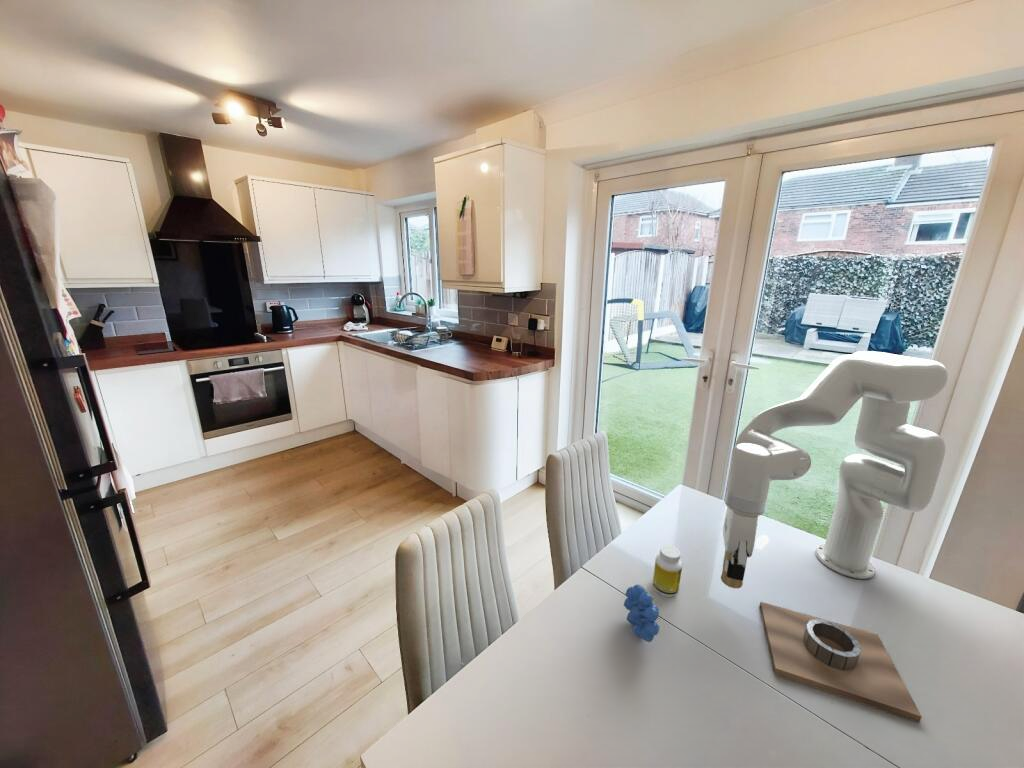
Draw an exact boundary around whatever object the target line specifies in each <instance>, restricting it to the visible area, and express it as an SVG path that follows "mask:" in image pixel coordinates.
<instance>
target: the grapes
mask: <svg viewBox="0 0 1024 768" xmlns="http://www.w3.org/2000/svg"><path fill="white" fill-rule="evenodd" d="M624 594H625V596H626V598H625V600H624V602H623V606H624V607H625V608H626V609H627V610H628V611H629V612H628V613H627V615H626V621H627V622H628V623H629V624H630V625H633V629H632V632H633V634H634V635H636V636H637V638H640V639H642V640H643V641H645V642H646V643H650V642H651V643H652V641H653V640H654V637H655V636H657V635H658V634H659V631H660V625H659V624H658V623H657V622H656V621H657V620H658V618H659V615H660V610H659V609H660V608H659V607H658V606H657V605H656V604H654V603H653V601H654V597H653V596H652V595H651V594H650V593H649V592H647V591H646V589H645V588H644V587H643V586H642V585H640V584H634V585H633V586H630V587H629V586H628V588H627V589H626V591H625V593H624Z"/></svg>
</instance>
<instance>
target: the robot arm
mask: <svg viewBox="0 0 1024 768" xmlns="http://www.w3.org/2000/svg"><path fill="white" fill-rule="evenodd" d="M947 382H948V371H947V368H946V367H945V365H944V364H942V363H941V362H938V361H937V360H931V359H926V358H920V357H919V358H918V357H913V356H912V357H911V356H905V355H899V354H894V353H889V352H882V351H872V350H871V351H869V350H867V351H866V350H862V351H856V352H854V353H852V354H844V355H840V356H838V357H837V358H835V359H834V360H833V361H832V362H831V363H830V364H829V365H828V366H827V367H826V368H825V369H824V371H823V372H822V373H820V375H819V376H818V377H817V379H815V380H814V381H813V383H812V384H811V385H810V386H809V387H808V388H807V389H806V390H805V391H804V392H803V394H802V395H801V396H800V397H798V398H795V399H792V400H788V401H786V402H782V403H780V404H777V405H775V406H772V407H769V408H767V409H765V410H763V411H761V412H759V414H757V415H756V416H755V417H754V418H752V420H751V421H750V422H749V423H748V424H747V425H746V426H745V427H744V428H743V429H742V431H741V432H740V433H739V435H738V436H737V438H736V441H735V444H734V447H733V449H732V452H731V456H730V464H729V471H728V478H727V485H726V491H725V498H724V504H725V506H726V507H727V508H726V512H725V516H724V520H723V526H722V535H723V536H722V537H723V544H724V549H725V550H726V551H727V552H728V553H731V561H729V563H728V569H727V577H729V578H732V579H736V580H740V581H744V578H745V572H746V568H747V567H746V566H747V562H746V557H747V559H748V558H751V557H752V556H753V552H754V547H755V541H756V535H757V528H758V519H759V517H760V516H762V515H764V514H765V511H766V505H767V501H768V494H769V489H770V485H771V481H772V482H773V481H792V480H793V481H794V480H797V479H799V478H801V477H803V476H804V475H806V474H807V473H808V472H809V470H810V469H811V466H812V460H811V456H810V454H809V453H808V452H807V451H806V450H805V449H804V448H802V447H800V446H798V445H795V444H794V443H790V442H788V441H785V440H783V439H780V438H778V437H775V436H773V434H774V433H776V432H778V431H780V430H783V429H787V428H793V427H817V426H831V425H835V424H838V423H839V422H840V421H842V419H843V418H844V417H845V416H846V415H847V413H848V412H849V411H850V410H851V409H852V408H853V406H855V405H856V404H857V402H858V401H859V400H860V399H862V401H861V407H860V412H859V417H858V420H857V424H856V430H855V435H854V443H855V446H856V447H857V448H858V449H859V450H861V451H863V452H865V453H867V454H869V455H870V456H869V455H867V454H860V453H855V454H850V455H848V456H846V457H844V459H843V460H842V461H841V463H840V466H839V471H838V491H837V496H836V499H835V500H836V501H835V504H834V507H833V513H832V517H831V520H830V524H829V526H828V527H829V528H828V532H827V536H826V540H825V544H820V545H818V546H817V547H816V549H815V555H816V557H817V559H818V560H819V561H820V562H821V563H822V564H823V565H825V566H826V567H827V568H829V569H830V570H833V571H834V572H837V573H839V574H841V575H843V576H846V577H850V578H853V579H860V580H861V579H862V580H863V579H864V580H867V579H871V578H872V577H874V575H875V573H876V568H875V567H874V565H873V563H872V562H871V561H870V560H871V557H872V553H873V550H874V547H875V544H876V540H877V536H878V534H879V530H880V528H881V524H882V521H883V516H884V509H883V505H882V503H881V502H884V503H885V504H888V505H891V506H893V507H894V508H898V509H899V510H902V511H906V512H909V513H918V512H921V511H923V510H925V508H928V506H929V504H930V502H931V500H932V498H933V495H934V492H935V488H936V485H937V482H938V478H939V475H940V472H941V468H942V466H943V461H944V459H945V454H946V444H945V441H944V439H943V437H941V436H940V434H938V433H936V432H934V431H931V430H928V429H926V428H925V429H924V428H921V427H917V426H914V425H911V424H909V423H908V416H909V413H910V408H911V402H912V403H913V402H920V401H925V400H928V399H931V398H933V397H935V396H937V395H938V394H939V393H940V392H941V391H943V389H944V388H945V386H946V384H947ZM871 455H872V456H871ZM874 456H875V457H874ZM877 457H878V458H877ZM880 458H881V459H880ZM882 459H884V460H882ZM885 460H887V461H885ZM888 461H890V462H888ZM892 462H893V463H896V464H898V465H896V464H893V463H892ZM899 465H901V466H903V467H901V466H899ZM737 549H738V550H737ZM725 550H724V551H725ZM735 554H736V555H738V558H735ZM734 558H735V559H734ZM745 567H746V568H745Z"/></svg>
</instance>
